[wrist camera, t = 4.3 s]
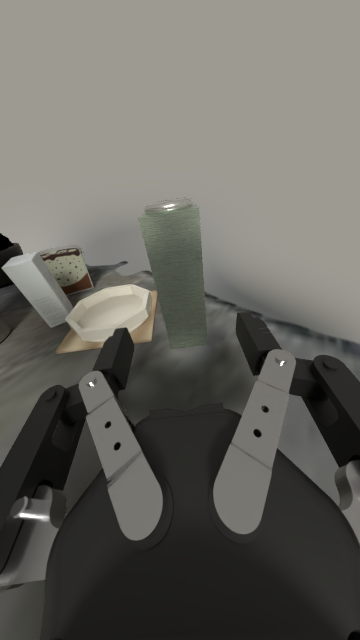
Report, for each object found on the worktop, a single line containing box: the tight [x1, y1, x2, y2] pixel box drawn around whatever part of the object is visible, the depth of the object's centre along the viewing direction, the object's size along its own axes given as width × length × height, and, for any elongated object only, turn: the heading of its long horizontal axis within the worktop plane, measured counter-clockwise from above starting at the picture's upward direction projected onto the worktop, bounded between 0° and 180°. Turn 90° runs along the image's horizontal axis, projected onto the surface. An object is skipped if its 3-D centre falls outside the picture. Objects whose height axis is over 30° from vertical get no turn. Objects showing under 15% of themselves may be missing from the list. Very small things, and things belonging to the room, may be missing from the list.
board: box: [55, 291, 158, 354], centre depth 32 cm, size 15×15×1 cm
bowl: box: [65, 284, 152, 343], centre depth 31 cm, size 14×14×3 cm
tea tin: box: [138, 197, 208, 349], centre depth 21 cm, size 5×5×17 cm
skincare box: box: [2, 252, 73, 328], centre depth 32 cm, size 6×4×12 cm
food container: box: [38, 245, 94, 296], centre depth 43 cm, size 12×6×10 cm, turn 111°
